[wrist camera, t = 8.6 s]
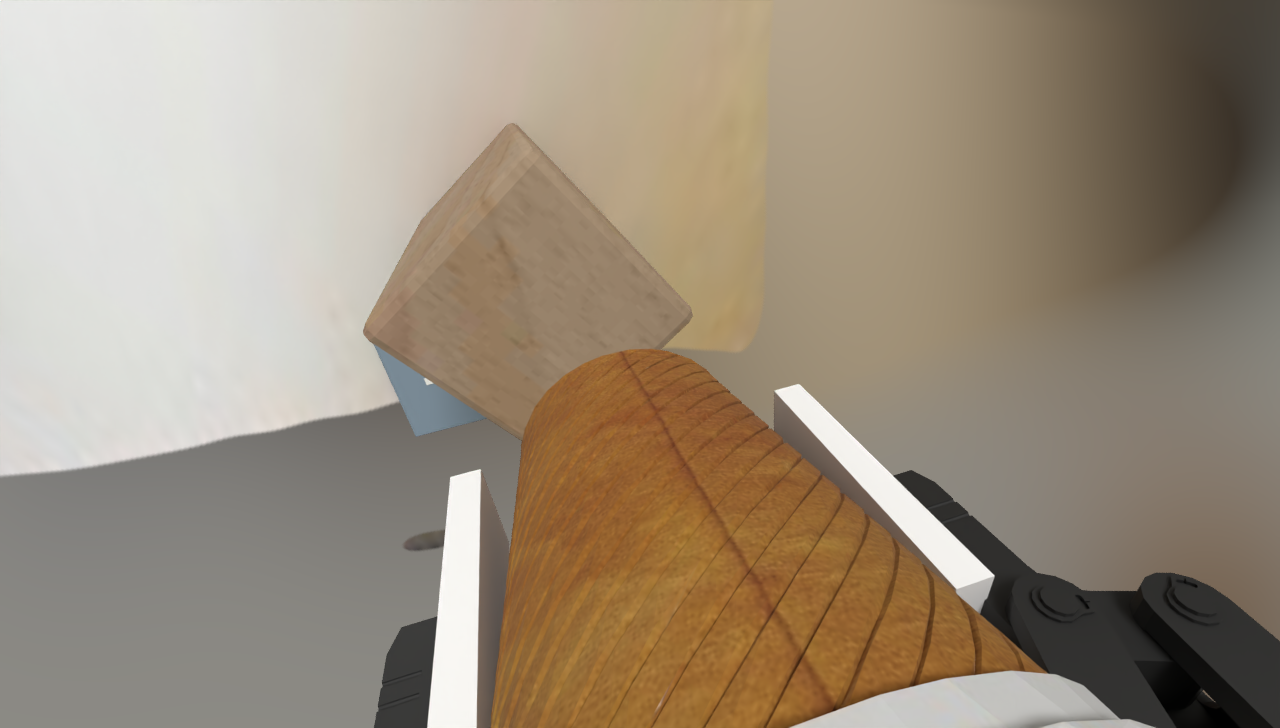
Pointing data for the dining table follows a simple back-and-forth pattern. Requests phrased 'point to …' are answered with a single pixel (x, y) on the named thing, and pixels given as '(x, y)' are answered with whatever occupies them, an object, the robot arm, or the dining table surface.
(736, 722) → the disposable coffee cup
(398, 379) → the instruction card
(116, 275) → the dining table surface
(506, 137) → the wooden block
